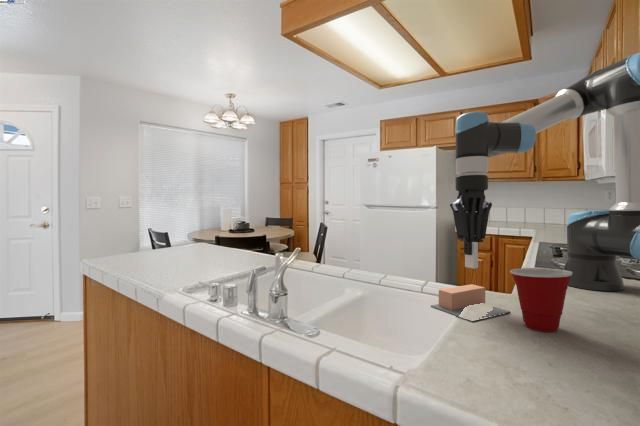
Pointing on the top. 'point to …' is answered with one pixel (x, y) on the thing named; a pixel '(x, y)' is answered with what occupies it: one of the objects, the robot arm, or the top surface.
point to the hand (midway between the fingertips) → (471, 267)
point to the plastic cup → (541, 296)
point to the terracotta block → (461, 296)
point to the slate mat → (458, 311)
